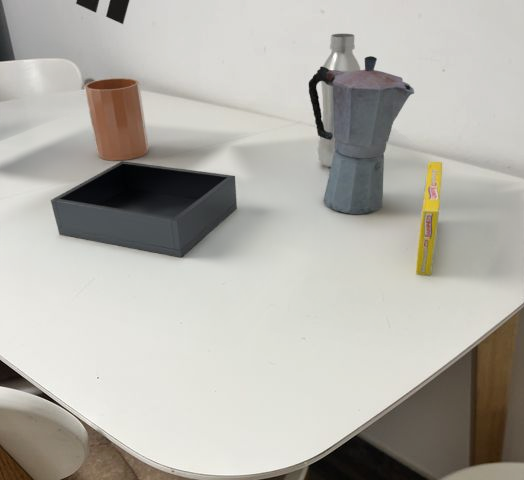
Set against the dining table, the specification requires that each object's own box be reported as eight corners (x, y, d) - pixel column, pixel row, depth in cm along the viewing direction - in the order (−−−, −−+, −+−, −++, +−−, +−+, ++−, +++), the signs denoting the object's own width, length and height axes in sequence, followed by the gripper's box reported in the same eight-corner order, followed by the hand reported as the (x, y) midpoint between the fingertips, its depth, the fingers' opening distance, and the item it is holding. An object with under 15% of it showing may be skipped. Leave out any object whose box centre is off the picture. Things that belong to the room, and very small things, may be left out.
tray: (59, 234, 79) (50, 200, 76) (127, 192, 91) (121, 160, 88) (181, 257, 73) (176, 221, 70) (236, 208, 85) (235, 175, 82)
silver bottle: (347, 157, 102) (355, 30, 90) (360, 170, 97) (370, 37, 84) (312, 161, 101) (315, 33, 89) (323, 174, 96) (329, 40, 83)
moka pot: (388, 224, 79) (406, 66, 67) (290, 205, 85) (290, 57, 73) (410, 200, 86) (430, 52, 74) (317, 184, 92) (321, 45, 80)
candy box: (419, 219, 80) (428, 160, 75) (435, 220, 80) (445, 161, 75) (413, 274, 68) (422, 208, 63) (431, 276, 67) (442, 210, 62)
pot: (87, 157, 106) (73, 88, 99) (117, 142, 113) (105, 76, 105) (130, 163, 103) (118, 91, 95) (157, 147, 109) (148, 79, 102)
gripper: (146, -179, 67) (98, 14, 75) (185, -108, 90) (144, 34, 98) (86, -209, 66) (44, -11, 75) (140, -130, 89) (103, 15, 97)
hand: (101, 15), depth 86 cm, fingers open, 13 cm apart
